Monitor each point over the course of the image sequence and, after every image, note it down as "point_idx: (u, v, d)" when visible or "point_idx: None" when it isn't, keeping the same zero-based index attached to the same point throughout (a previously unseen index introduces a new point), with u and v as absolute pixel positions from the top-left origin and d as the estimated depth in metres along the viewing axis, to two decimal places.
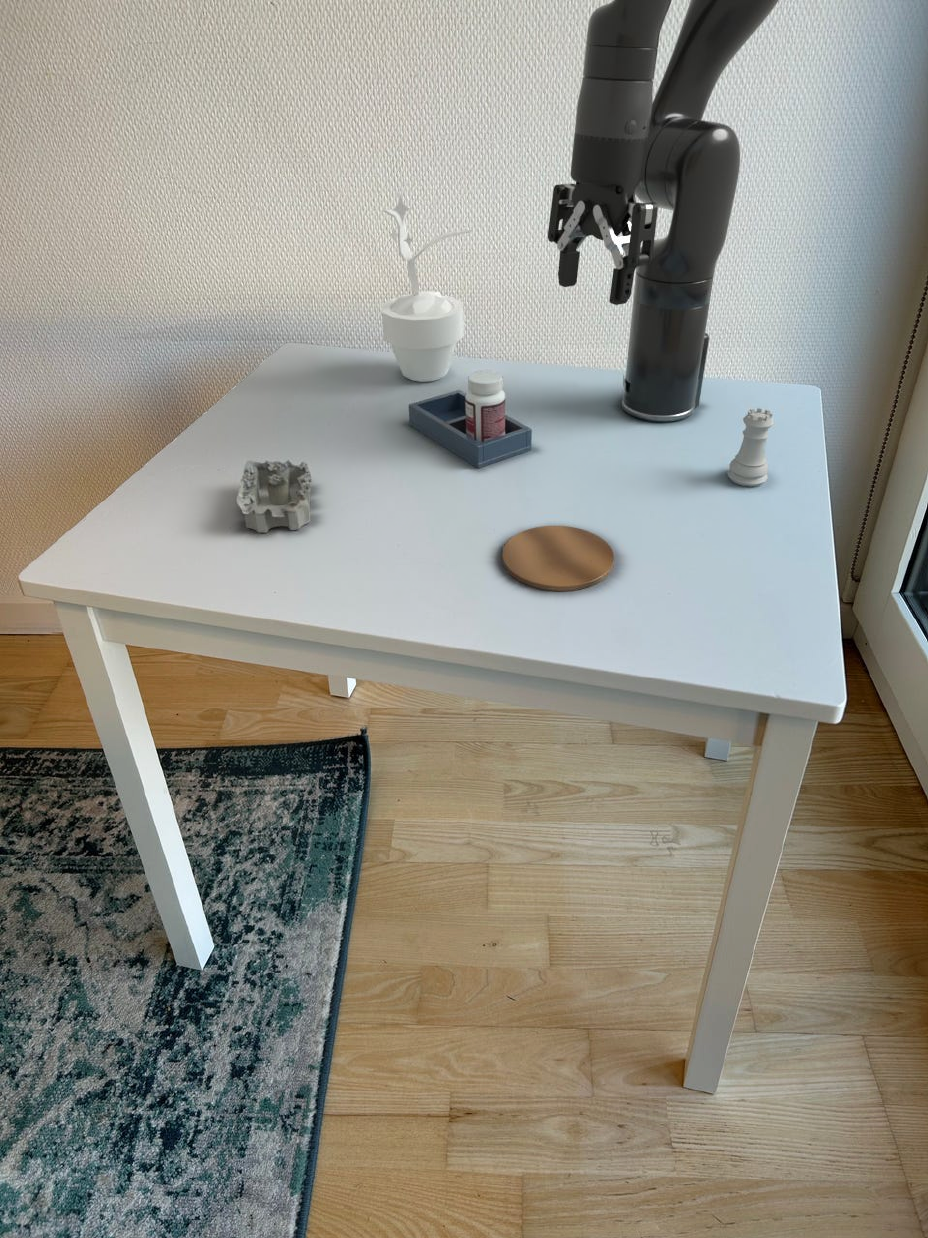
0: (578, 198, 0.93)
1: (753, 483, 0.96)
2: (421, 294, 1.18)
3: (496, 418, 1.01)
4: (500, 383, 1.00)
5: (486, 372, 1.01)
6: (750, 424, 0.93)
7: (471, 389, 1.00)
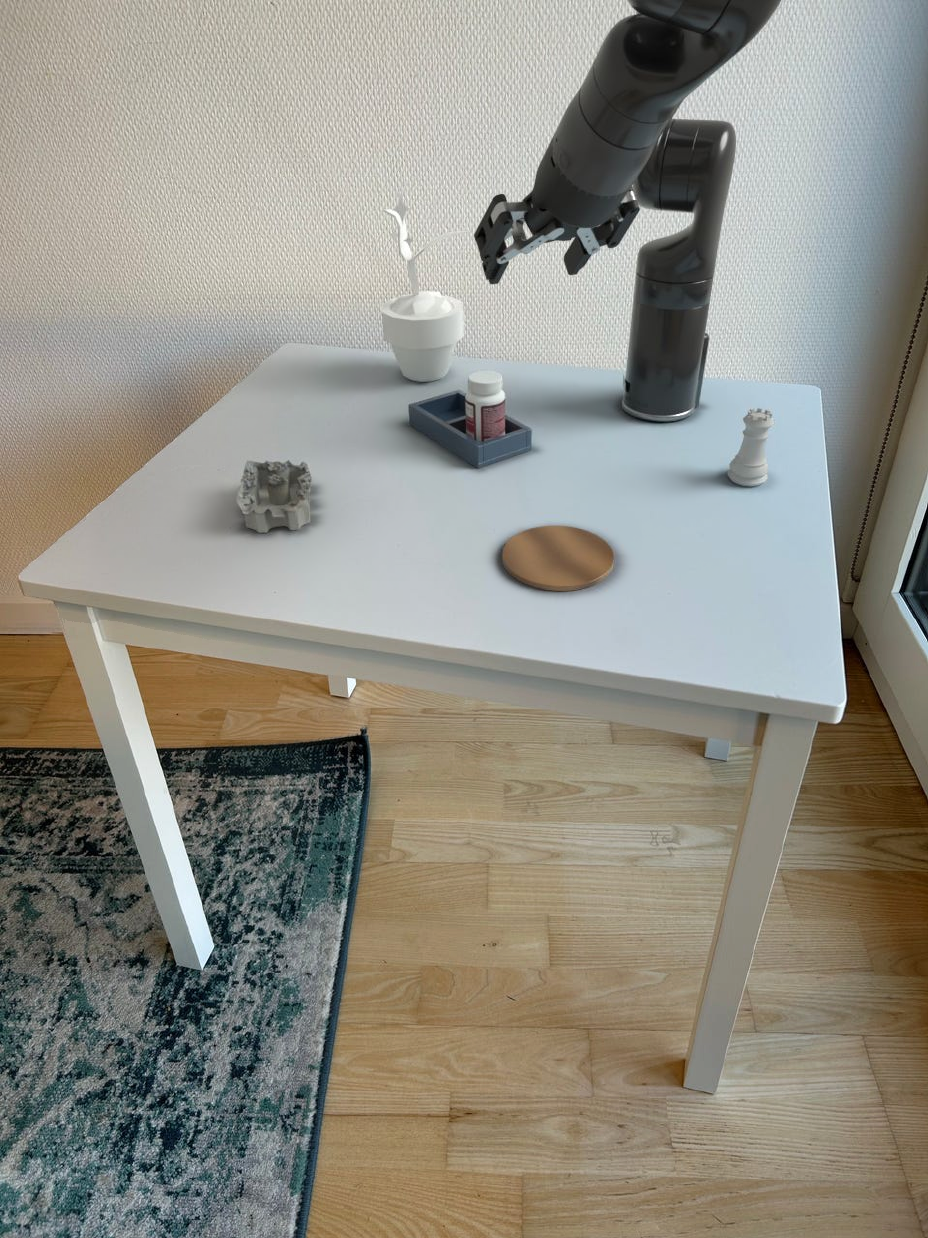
0: (542, 221, 0.75)
1: (753, 483, 0.96)
2: (421, 294, 1.17)
3: (496, 418, 1.01)
4: (500, 383, 1.00)
5: (486, 372, 1.01)
6: (750, 424, 0.93)
7: (471, 389, 1.00)
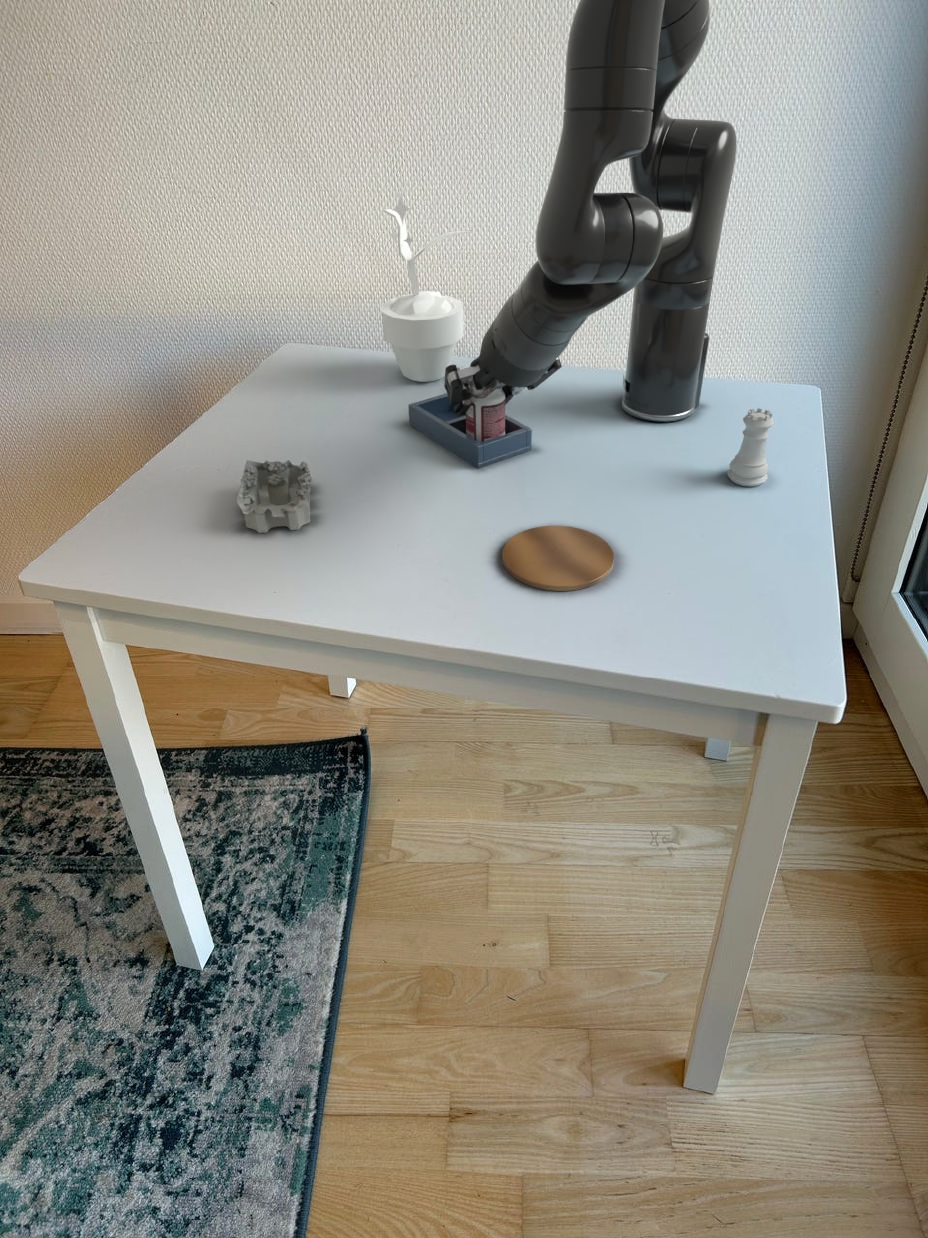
0: (488, 378, 0.93)
1: (753, 483, 0.96)
2: (421, 294, 1.17)
3: (496, 418, 1.01)
4: None
5: None
6: (750, 424, 0.93)
7: None
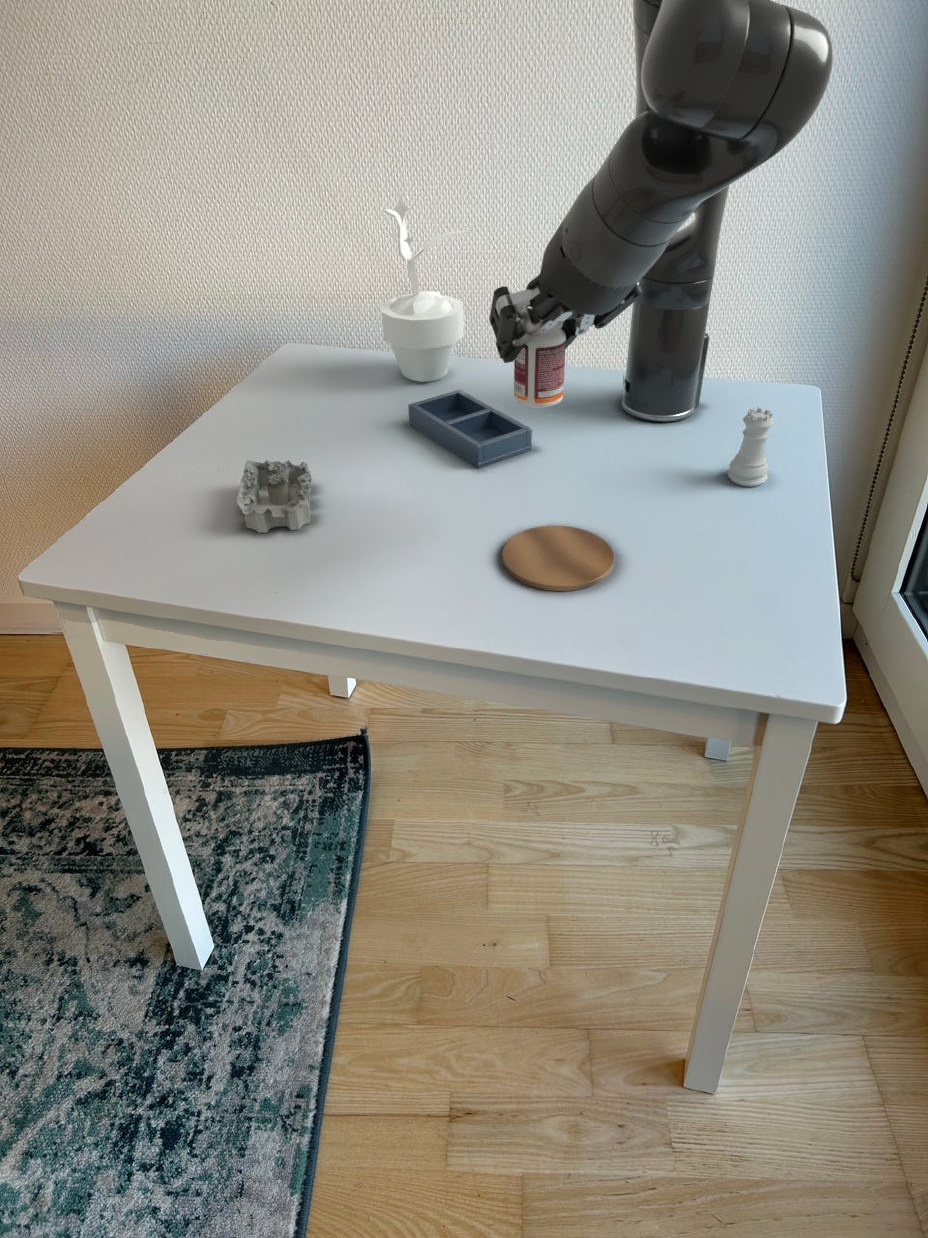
0: (549, 305, 0.71)
1: (753, 483, 0.96)
2: (421, 294, 1.17)
3: (554, 365, 0.79)
4: None
5: None
6: (750, 424, 0.93)
7: (523, 325, 0.77)
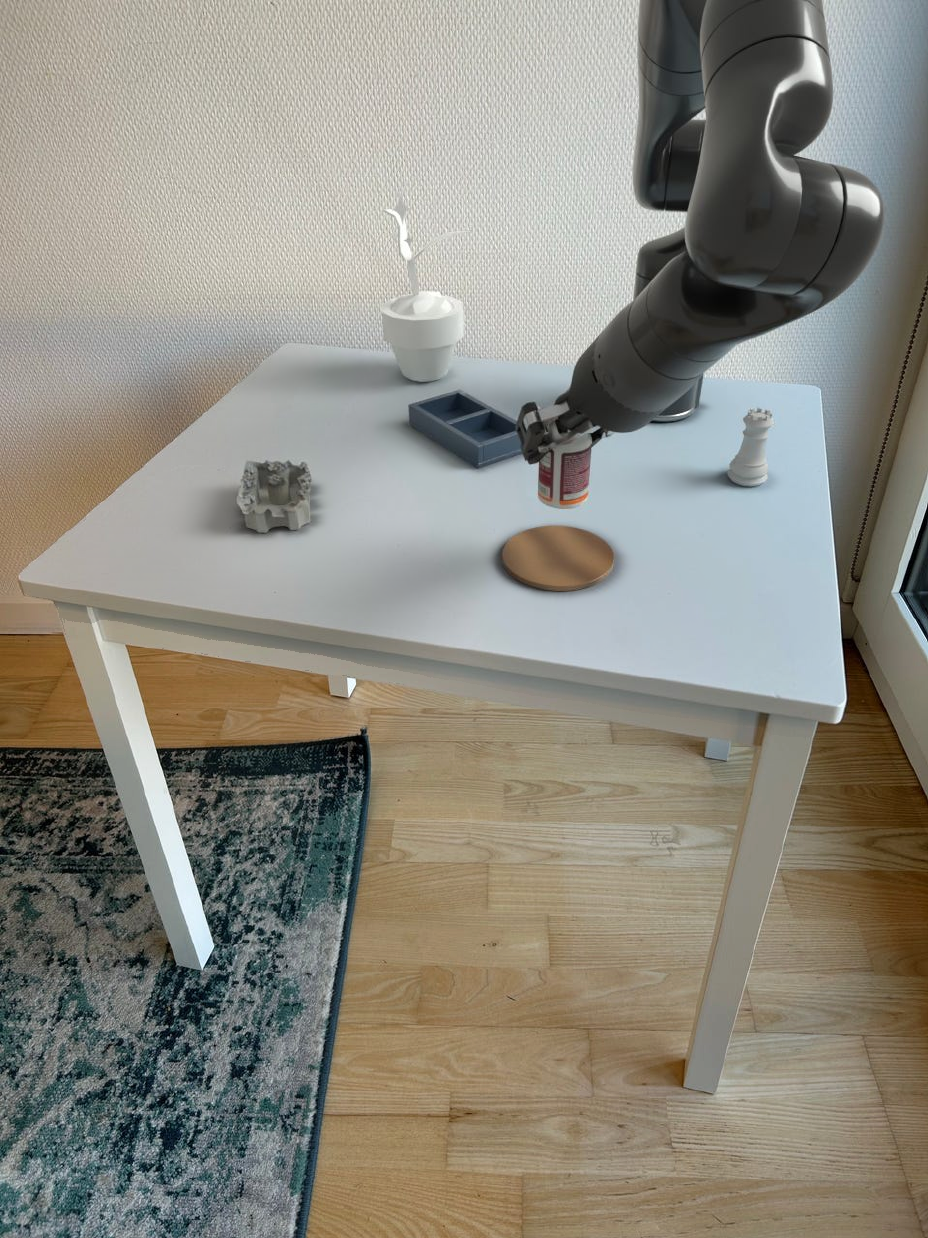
0: (578, 420, 0.69)
1: (753, 483, 0.96)
2: (421, 294, 1.17)
3: (580, 468, 0.77)
4: None
5: None
6: (750, 424, 0.93)
7: (549, 430, 0.76)
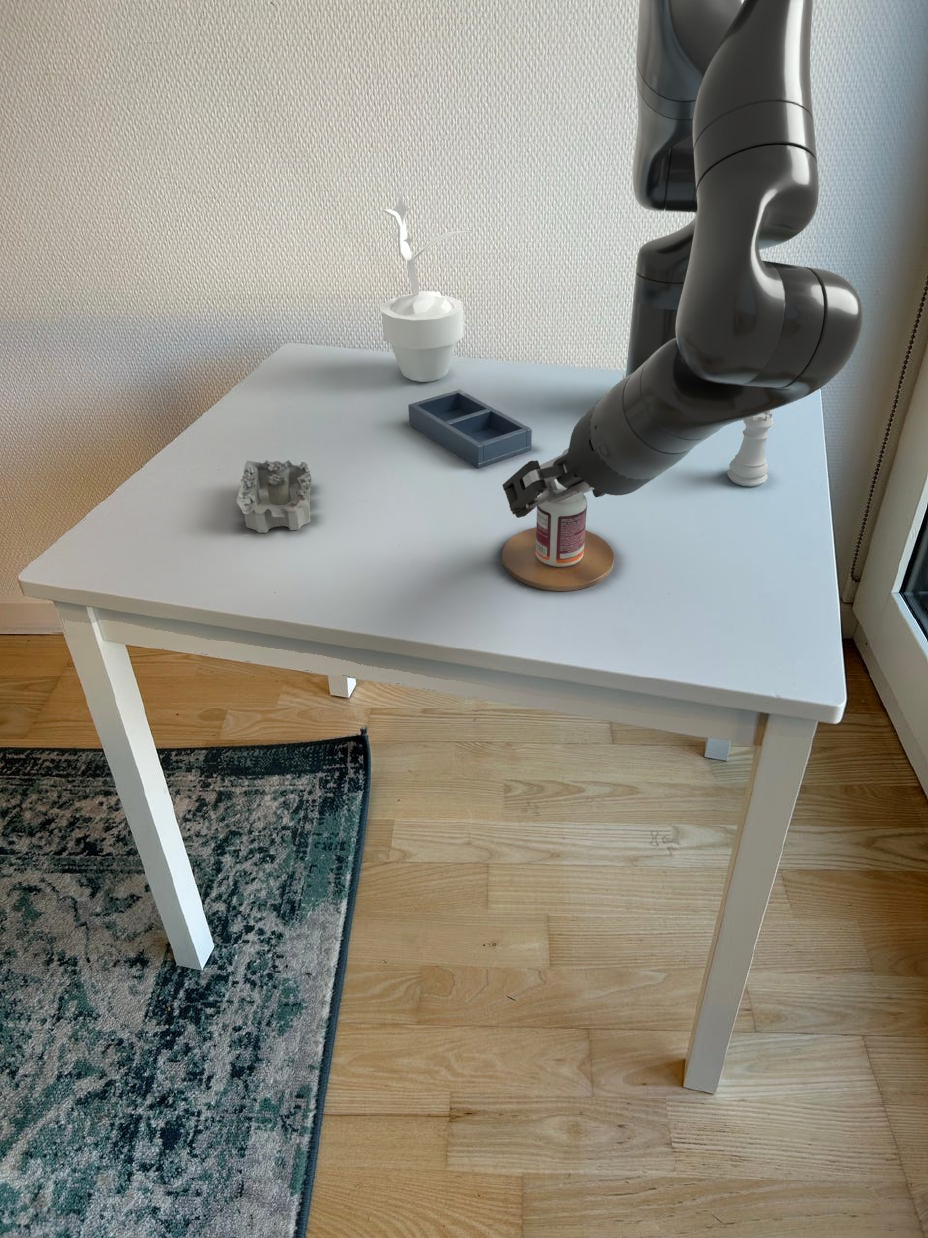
0: (576, 481, 0.72)
1: (753, 483, 0.96)
2: (421, 294, 1.17)
3: (576, 530, 0.81)
4: None
5: None
6: (750, 424, 0.93)
7: None
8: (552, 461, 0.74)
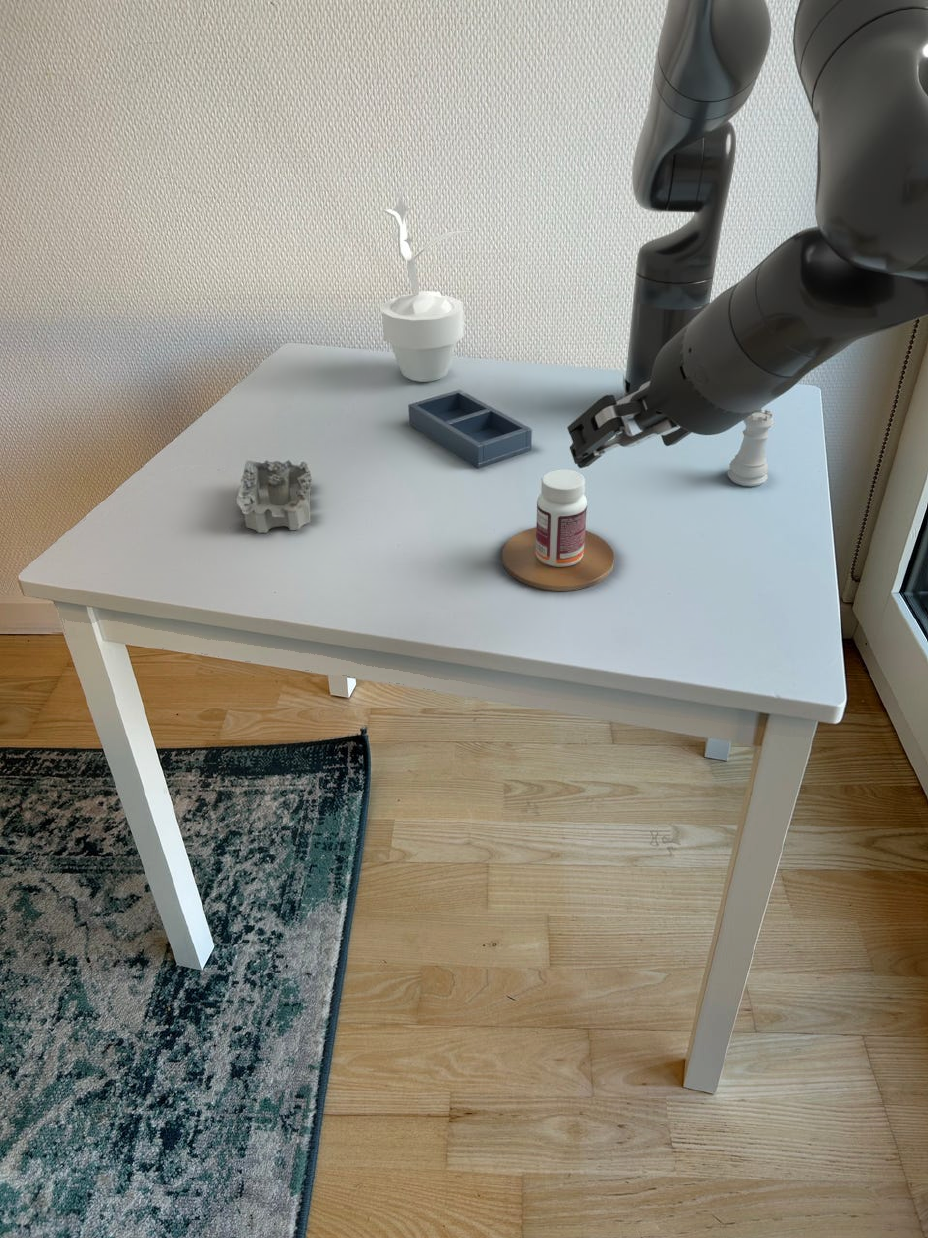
0: (656, 420, 0.62)
1: (753, 483, 0.96)
2: (421, 294, 1.17)
3: (576, 530, 0.81)
4: (583, 488, 0.79)
5: (563, 472, 0.81)
6: (750, 424, 0.93)
7: (546, 495, 0.80)
8: (626, 398, 0.64)
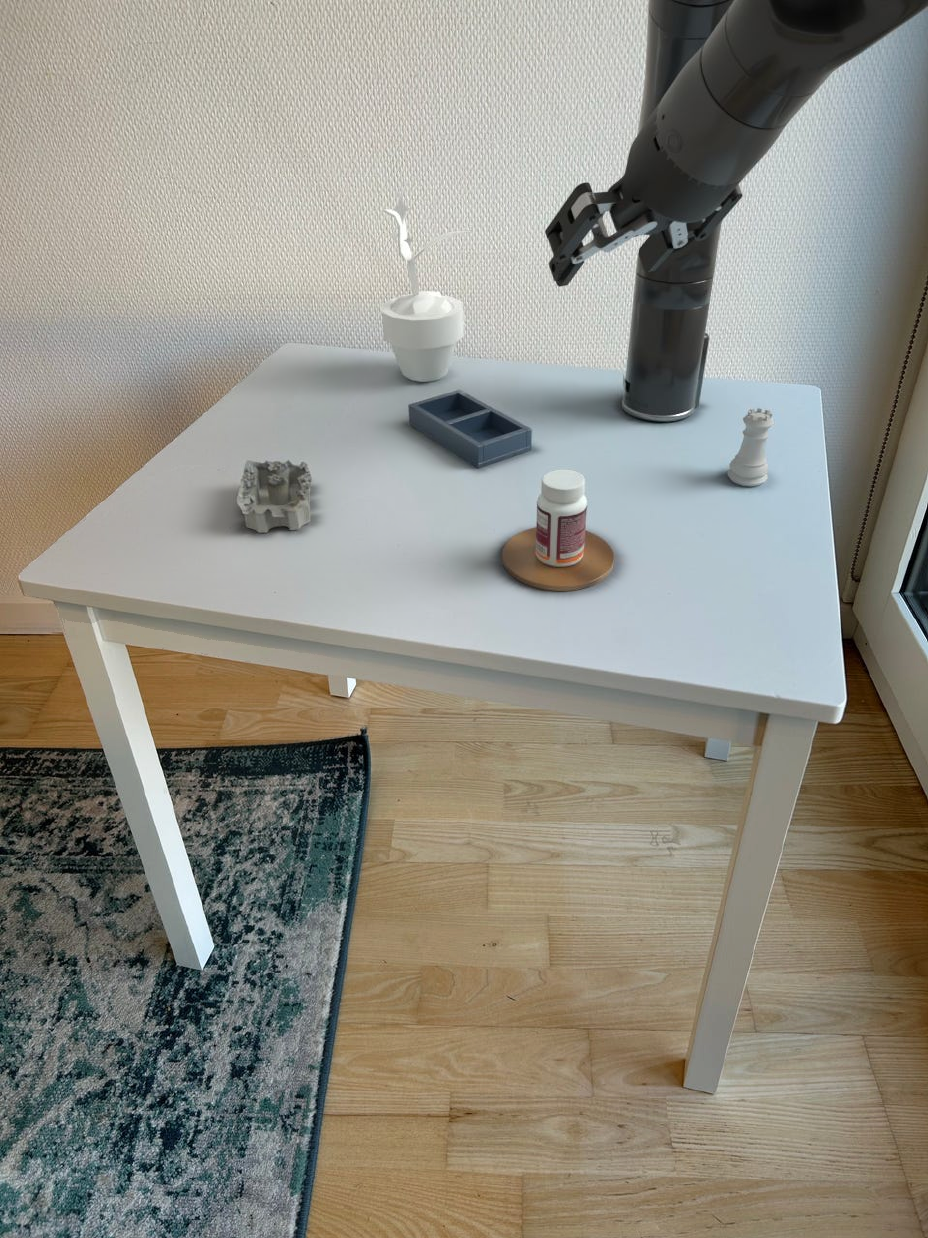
0: (632, 214, 0.62)
1: (753, 483, 0.96)
2: (421, 294, 1.17)
3: (576, 530, 0.81)
4: (583, 488, 0.79)
5: (563, 472, 0.81)
6: (750, 424, 0.93)
7: (546, 495, 0.80)
8: None
